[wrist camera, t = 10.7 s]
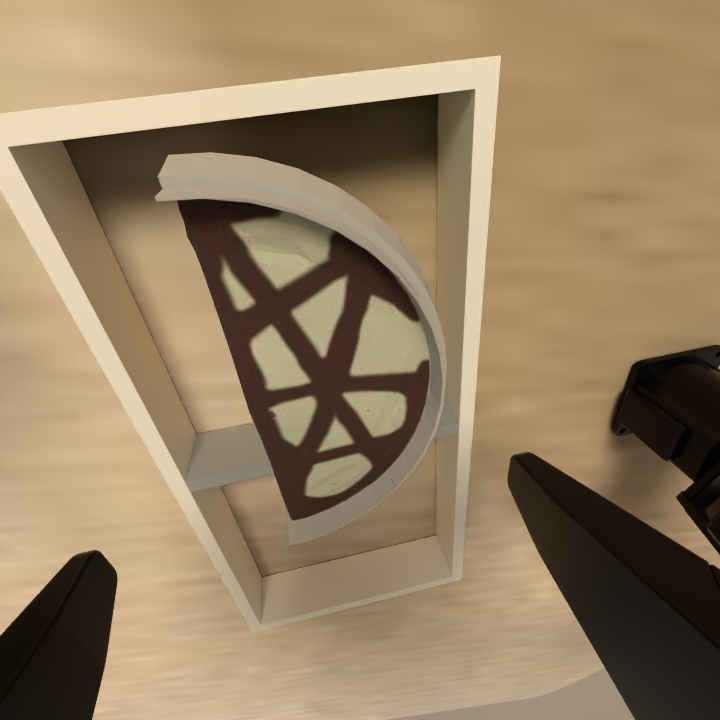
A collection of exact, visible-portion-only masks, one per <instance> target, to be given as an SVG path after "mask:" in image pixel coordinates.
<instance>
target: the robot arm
mask: <svg viewBox="0 0 720 720" xmlns="http://www.w3.org/2000/svg"><path fill="white" fill-rule="evenodd" d="M719 365H720V345H713V346H708V347H703V348H699V349H694V350H689V351H684V352H679V353H674V354H670V355H665V356H660V357H655V358H650V359H645V360H641V361H639V362H637V363H636V364H635V365H634V367H633V370H632V373H631V375H630V378H629V381H628V384H627V387H626V390H625V393H624V396H623V399H622V402H621V405H620V408H619V411H618V414H617V417H616V419H615V422H614V425H613V428H612V431H613V432H614V433H615V434H616V435H617V436H623V435H627V434H631V433H634V434H635V435H636V436H637V437H638V438H639V439H640V440H642V441H643V442H644V443H645V444H646V445H647V446H648V447H649V448H651V449H652V450H653V451H654V452H655V453H656V454H657V455H658V456H660V457H661V458H662V459H663V460H665V461H671V462H672V463H673V464H674V465H675V466H676V467H678V468H679V469H680V470H681V471H682V472H683V473H684V474H686V475H687V476H688V477H689V478H690V479H691V480H692V481H694V483H693V484H692V485H691V486H690V487H688V488H687V489H686V490H685V491H682V492H681V493H680V494H679V495H677V496H676V498H677V500H678V501H679V502H680V504H681V505H682V506H683V507H684V509H685V511H686V512H687V514H688V515H689V516H690V518H691V519H692V520H693V521H694V523H695V524H696V525H697V526H698V528H699V529H700V530H701V531H702V533H703V534H704V535H705V537H706V538H707V539H708V540H709V542H710V543H711V544H712V545H713V547H714V548H715V549H716V551H717V552H718V553H719V554H720V369H718V367H719ZM507 480H508V486H509V489H510V491H511V493H512V496H513V498H514V500H515V502H516V504H517V507H518V509H519V511H520V513H521V515H522V518H523V520H524V522H525V524H526V526H527V529H528V531H529V533H530V535H531V538H532V540H533V542H534V544H535V546H536V548H537V550H538V552H539V554H540V556H541V558H542V560H543V561H544V563H545V565H546V567H547V568H548V570H549V572H550V574H551V575H552V577H553V579H554V580H555V582H556V584H557V586H558V587H559V589H560V591H561V593H562V594H563V596H564V598H565V599H566V601H567V603H568V605H569V606H570V608H571V610H572V611H573V613H574V615H575V617H576V618H577V620H578V622H579V624H580V625H581V627H582V629H583V630H584V632H585V634H586V636H587V637H588V639H589V641H590V643H591V644H592V646H593V648H594V649H595V651H596V653H597V655H598V656H599V658H600V660H601V661H602V663H603V665H604V667H605V668H606V670H607V672H608V673H609V675H610V677H611V679H612V680H613V682H614V684H615V685H616V687H617V689H618V691H619V692H620V694H621V696H622V698H623V699H624V701H625V703H626V705H627V706H628V708H629V710H630V711H631V713H632V715H633V717H634V718H635V720H720V569H719V568H717V567H716V566H714V565H709V564H708V562H707V561H706V560H704V559H702V558H701V557H699V556H698V555H696V554H694V553H693V552H691V551H690V550H688V549H686V548H685V547H683V546H681V545H680V544H678V543H677V542H675V541H673V540H672V539H670V538H669V537H667V536H665V535H664V534H662V533H661V532H659V531H657V530H656V529H654V528H652V527H651V526H649V525H648V524H646V523H644V522H643V521H641V520H640V519H638V518H636V517H635V516H633V515H631V514H630V513H628V512H627V511H625V510H623V509H622V508H620V507H619V506H617V505H615V504H614V503H612V502H610V501H609V500H607V499H606V498H604V497H602V496H601V495H599V494H598V493H596V492H594V491H593V490H591V489H589V488H588V487H586V486H585V485H583V484H581V483H580V482H578V481H577V480H575V479H573V478H572V477H570V476H568V475H567V474H565V473H564V472H562V471H560V470H559V469H557V468H556V467H554V466H552V465H551V464H549V463H547V462H546V461H544V460H543V459H541V458H539V457H538V456H536V455H535V454H533V453H530V452H524V453H519V454H515V455H513V456H512V457H511V459H510V465H509V471H508V478H507ZM116 588H117V573H116V570H115V569H114V567H113V566H112V565H111V564H110V563H109V561H108V560H107V559H106V558H105V557H104V555H103V554H102V553H101V552H100V551H97V550H92V551H88V552H83V553H79V554H77V555H75V556H73V557H72V558H71V559H70V560H69V561H68V562H67V563H66V564H65V565H64V566H63V567H62V569H61V570H60V571H59V572H58V573H57V574H56V575H55V576H54V577H53V578H52V579H51V581H50V582H49V583H48V584H47V585H46V586H45V587H44V588H43V589H42V590H41V592H40V593H39V594H38V595H37V596H36V597H35V598H34V599H33V600H32V601H31V603H30V604H29V605H28V606H27V607H26V608H25V609H24V610H23V611H22V612H21V613H20V615H19V616H18V617H17V618H16V619H15V620H14V621H13V622H12V623H11V624H10V626H9V627H8V628H7V629H6V630H5V631H4V632H3V633H2V634H1V635H0V720H92V717H93V713H94V709H95V705H96V701H97V697H98V693H99V689H100V685H101V680H102V676H103V672H104V667H105V663H106V657H107V651H108V644H109V637H110V630H111V623H112V616H113V609H114V602H115V595H116Z"/></svg>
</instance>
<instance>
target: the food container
mask: <svg viewBox="0 0 720 720" xmlns="http://www.w3.org/2000/svg"><path fill="white" fill-rule="evenodd" d="M158 179H159V182H160V184H161V187H162V190H161V191H160V192H159V193H158V194H157V195H156V196H155V199H156V202H157V201H172V200H177V202H178V206H179V210H180V213H181V215H182V218H183V220H184V224H185V228H186V232H187V237H188V239H189V240H190V242H191V244H192V246H193V248H194V250H195V252H196V255H197V257H198V260H199V262H200V265H201V267H202V270H203V273H204V276H205V278H206V281H207V284H208V287H209V290H210V293H211V296H212V299H213V302H214V305H215V308H216V311H217V313H218V316H219V319H220V322H221V325H222V328H223V331H224V334H225V337H226V340H227V343H228V346H229V349H230V352H231V355H232V358H233V361H234V364H235V368H236V371H237V374H238V377H239V380H240V383H241V387H242V390H243V393H244V396H245V399H246V402H247V406H248V409H249V412H250V414H251V417H252V419H253V421H254V424H255V426H256V428H257V431H258V433H259V435H260V438H261V440H262V443H263V445H264V448H265V450H266V453H267V456H268V458H269V461H270V463H271V466H272V469H273V472H274V474H275V477H276V480H277V483H278V485H279V488H280V491H281V494H282V497H283V499H284V502H285V505H286V508H287V526H288V543H289V547H290V546H294V545H297V544H300V543H304V542H307V541H311V540H314V539H316V538H319V537H321V536H324V535H326V534H329V533H331V532H334V531H336V530H338V529H340V528H342V527H344V526H346V525H347V524H349V523H351V522H353V521H355V520H357V519H359V518H360V517H362V516H363V515H365V514H366V513H368V512H369V511H371V510H372V509H374V508H375V507H377V506H378V505H379V504H381V503H382V502H383V501H384V500H385V499H386V498H388V497H389V496H390V495H391V494H392V493H393V492H395V491H396V490H397V489H398V488H399V487H400V486H401V484H402V483H403V482H404V481H405V480H406V479H407V478H408V477H409V476H410V474H411V473H412V472H413V471H414V470H415V468H416V467H417V465H418V464H419V462H420V461H421V459H422V458H423V456H424V455H425V453H426V452H427V450H428V448H429V445H430V443H431V441H432V439H433V437H434V435H435V433H436V431H437V427H438V424H439V420H440V417H441V413H442V410H443V405H444V394H445V383H446V373H447V361H446V349H445V339H444V336H443V332H442V329H441V325H440V321H439V318H438V314H437V311H436V308H435V304H434V301H433V298H432V294H431V291H430V288H429V286H428V284H427V282H426V280H425V278H424V276H423V274H422V272H421V269H420V267H419V265H418V263H417V261H416V260H415V258H414V257H413V255H412V254H411V253H410V251H409V250H408V249H407V247H406V246H405V245H404V243H403V242H402V241H401V239H400V238H399V237H398V235H397V234H396V233H395V232H394V231H393V230H392V229H391V228H390V227H389V226H388V225H387V224H386V223H385V222H384V221H383V220H382V219H381V218H379V217H378V216H377V215H376V214H375V213H374V212H373V211H372V210H371V209H370V208H369V207H367V206H366V205H364V204H363V203H361V202H360V201H358V200H357V199H355V198H354V197H352V196H351V195H349V194H348V193H346V192H345V191H343V190H342V189H340V188H339V187H337V186H335V185H333V184H331V183H329V182H327V181H325V180H322V179H320V178H318V177H316V176H314V175H311V174H309V173H307V172H305V171H303V170H300V169H298V168H294V167H291V166H287V165H283V164H280V163H276V162H272V161H269V160H265V159H261V158H258V157H250V156H241V155H231V154H221V153H212V152H207V153H191V154H174V155H168V157H167V159H166V161H165V163H164V165H163V167H162V169H161V171H160V173H159V175H158Z"/></svg>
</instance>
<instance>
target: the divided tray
mask: <svg viewBox="0 0 720 720" xmlns="http://www.w3.org/2000/svg"><path fill="white" fill-rule="evenodd" d="M500 58H501V55H500V56H492V57H483V58H474V59H466V60H457V61H449V62H440V63H431V64H423V65H414V66H406V67H397V68H388V69H380V70H371V71H362V72H354V73H345V74H337V75H328V76H319V77H311V78H302V79H294V80H285V81H276V82H268V83H259V84H250V85H242V86H233V87H225V88H216V89H207V90H199V91H190V92H182V93H173V94H164V95H156V96H147V97H139V98H130V99H121V100H113V101H104V102H95V103H87V104H78V105H70V106H61V107H52V108H44V109H35V110H27V111H18V112H9V113H1V114H0V190H1V192H2V194H3V195H4V197H5V199H6V201H7V202H8V204H9V206H10V208H11V209H12V211H13V213H14V215H15V216H16V218H17V220H18V222H19V223H20V225H21V227H22V229H23V231H24V232H25V234H26V236H27V238H28V239H29V241H30V243H31V245H32V246H33V248H34V250H35V252H36V253H37V255H38V257H39V259H40V260H41V262H42V264H43V266H44V267H45V269H46V271H47V273H48V275H49V276H50V278H51V280H52V282H53V283H54V285H55V287H56V289H57V290H58V292H59V294H60V296H61V297H62V299H63V301H64V303H65V304H66V306H67V308H68V310H69V311H70V313H71V315H72V317H73V319H74V320H75V322H76V324H77V326H78V327H79V329H80V331H81V333H82V334H83V336H84V338H85V340H86V341H87V343H88V345H89V347H90V348H91V350H92V352H93V354H94V355H95V357H96V359H97V361H98V363H99V364H100V366H101V368H102V370H103V371H104V373H105V375H106V377H107V378H108V380H109V382H110V384H111V385H112V387H113V389H114V391H115V392H116V394H117V396H118V398H119V399H120V401H121V403H122V405H123V407H124V408H125V410H126V412H127V414H128V415H129V417H130V419H131V421H132V422H133V424H134V426H135V428H136V429H137V431H138V433H139V435H140V436H141V438H142V440H143V442H144V443H145V445H146V447H147V449H148V451H149V452H150V454H151V456H152V458H153V459H154V461H155V463H156V465H157V466H158V468H159V470H160V472H161V473H162V475H163V477H164V479H165V480H166V482H167V484H168V486H169V487H170V489H171V491H172V493H173V495H174V496H175V498H176V500H177V502H178V503H179V505H180V507H181V509H182V510H183V512H184V514H185V516H186V517H187V519H188V521H189V523H190V524H191V526H192V528H193V530H194V531H195V533H196V535H197V537H198V539H199V540H200V542H201V544H202V546H203V547H204V549H205V551H206V553H207V554H208V556H209V558H210V560H211V561H212V563H213V565H214V567H215V568H216V570H217V572H218V574H219V576H220V577H221V579H222V581H223V583H224V584H225V586H226V588H227V590H228V591H229V593H230V595H231V597H232V598H233V600H234V602H235V604H236V605H237V607H238V609H239V611H240V612H241V614H242V616H243V618H244V620H245V621H246V623H247V625H248V627H249V628H250V630H251V632H252V633H255V632H259V631H263V630H267V629H271V628H275V627H279V626H283V625H287V624H291V623H295V622H298V621H302V620H306V619H310V618H314V617H318V616H322V615H326V614H330V613H334V612H338V611H342V610H346V609H350V608H353V607H357V606H361V605H365V604H369V603H373V602H377V601H381V600H385V599H389V598H393V597H397V596H401V595H404V594H408V593H412V592H416V591H420V590H424V589H428V588H432V587H436V586H440V585H444V584H448V583H452V582H455V581H459V580H462V569H463V555H464V542H465V528H466V515H467V501H468V488H469V475H470V461H471V448H472V434H473V421H474V408H475V394H476V381H477V367H478V354H479V340H480V327H481V314H482V300H483V287H484V273H485V260H486V246H487V233H488V220H489V206H490V193H491V179H492V166H493V152H494V139H495V126H496V112H497V99H498V85H499V72H500ZM432 94H438V213H437V314H438V318H439V321H440V325H441V329H442V332H443V336H444V339H445V349H446V361H447V373H446V383H445V394H444V405H443V410H442V413H441V417H440V420H439V424H438V427H437V431H436V433H435V435H434V437H433V439H432V440H435V439H436V535H435V536H431V537H427V538H423V539H419V540H414V541H410V542H406V543H402V544H398V545H394V546H390V547H385V548H381V549H377V550H373V551H369V552H365V553H360V554H356V555H352V556H348V557H344V558H340V559H336V560H331V561H327V562H323V563H319V564H315V565H311V566H307V567H302V568H298V569H294V570H290V571H286V572H282V573H278V574H273V575H269V576H265V577H262V576H261V574H260V572H259V570H258V568H257V565H256V563H255V561H254V559H253V557H252V555H251V552H250V550H249V548H248V546H247V544H246V541H245V539H244V537H243V535H242V533H241V530H240V528H239V526H238V524H237V522H236V520H235V517H234V515H233V513H232V511H231V509H230V506H229V504H228V502H227V500H226V498H225V496H224V493H223V491H222V489H221V487H220V486H222V485H226V484H231V483H236V482H240V481H245V480H250V479H254V478H259V477H263V476H268V475H273V474H274V472H273V469H272V466H271V463H270V461H269V458H268V456H267V453H266V450H265V448H264V445H263V443H262V440H261V438H260V435H259V433H258V431H257V428H256V426H255V424H254V423H249V424H244V425H239V426H234V427H229V428H224V429H219V430H215V431H210V432H205V433H200V434H196V432H195V430H194V428H193V426H192V423H191V421H190V419H189V417H188V415H187V413H186V410H185V408H184V406H183V404H182V402H181V399H180V397H179V395H178V393H177V391H176V389H175V386H174V384H173V382H172V380H171V378H170V375H169V373H168V371H167V369H166V367H165V364H164V362H163V360H162V358H161V356H160V354H159V351H158V349H157V347H156V345H155V343H154V340H153V338H152V336H151V334H150V332H149V330H148V327H147V325H146V323H145V321H144V319H143V316H142V314H141V312H140V310H139V308H138V306H137V303H136V301H135V299H134V297H133V295H132V292H131V290H130V288H129V286H128V284H127V281H126V279H125V277H124V275H123V273H122V271H121V268H120V266H119V264H118V262H117V260H116V257H115V255H114V253H113V251H112V249H111V247H110V244H109V242H108V240H107V238H106V236H105V233H104V231H103V229H102V227H101V225H100V222H99V220H98V218H97V216H96V214H95V212H94V209H93V207H92V205H91V203H90V201H89V198H88V196H87V194H86V192H85V190H84V188H83V185H82V183H81V181H80V179H79V177H78V174H77V172H76V170H75V168H74V166H73V164H72V161H71V159H70V157H69V155H68V153H67V150H66V148H65V146H64V144H63V142H62V140H70V139H78V138H86V137H94V136H102V135H110V134H118V133H126V132H134V131H142V130H150V129H158V128H166V127H174V126H182V125H190V124H198V123H207V122H215V121H223V120H231V119H239V118H247V117H255V116H263V115H271V114H279V113H287V112H295V111H303V110H311V109H319V108H327V107H335V106H343V105H351V104H359V103H367V102H375V101H383V100H392V99H400V98H408V97H416V96H424V95H432Z"/></svg>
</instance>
